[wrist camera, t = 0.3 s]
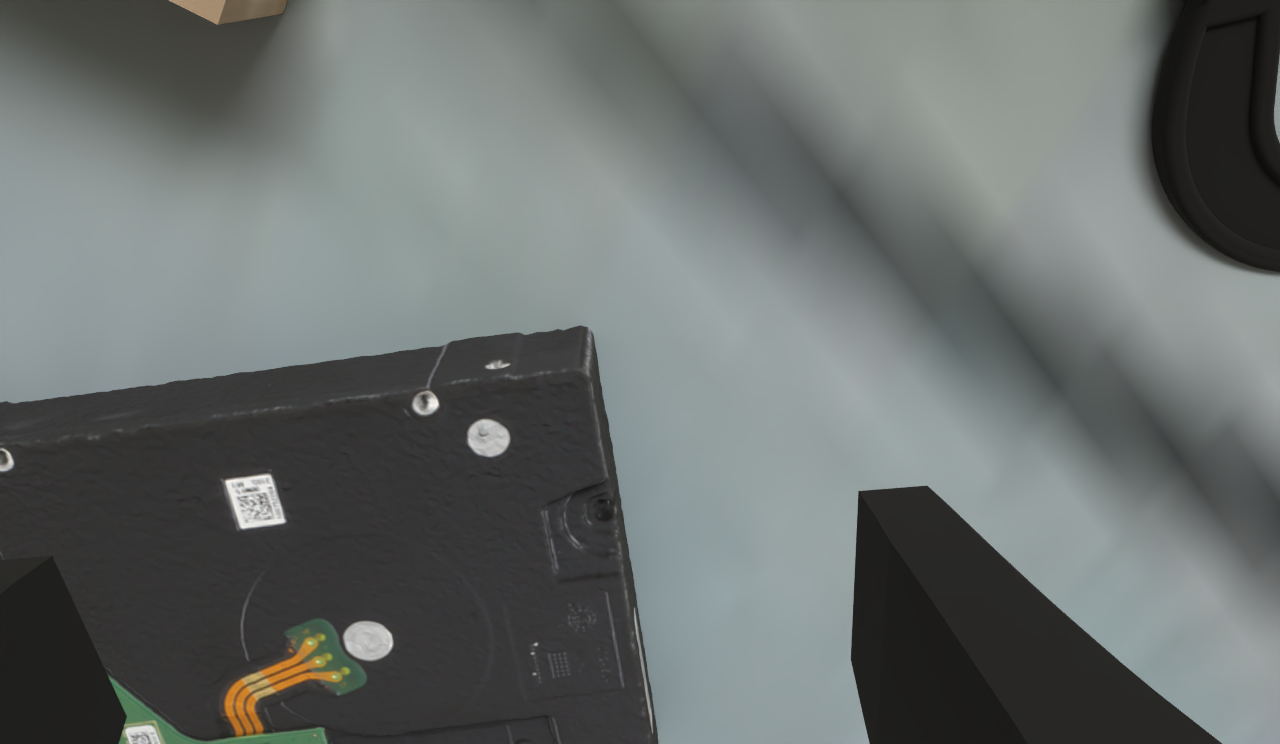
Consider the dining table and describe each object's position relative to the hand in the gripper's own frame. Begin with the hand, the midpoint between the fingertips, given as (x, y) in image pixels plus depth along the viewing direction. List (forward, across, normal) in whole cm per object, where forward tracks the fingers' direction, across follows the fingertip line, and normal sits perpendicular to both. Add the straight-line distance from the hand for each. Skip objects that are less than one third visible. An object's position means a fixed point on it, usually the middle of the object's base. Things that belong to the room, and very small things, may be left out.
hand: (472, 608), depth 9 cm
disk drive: (+10, +6, +8) cm, 14 cm away
